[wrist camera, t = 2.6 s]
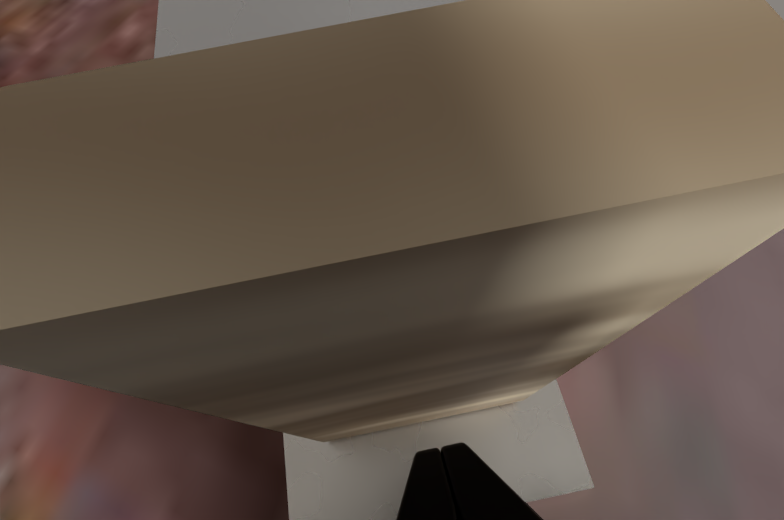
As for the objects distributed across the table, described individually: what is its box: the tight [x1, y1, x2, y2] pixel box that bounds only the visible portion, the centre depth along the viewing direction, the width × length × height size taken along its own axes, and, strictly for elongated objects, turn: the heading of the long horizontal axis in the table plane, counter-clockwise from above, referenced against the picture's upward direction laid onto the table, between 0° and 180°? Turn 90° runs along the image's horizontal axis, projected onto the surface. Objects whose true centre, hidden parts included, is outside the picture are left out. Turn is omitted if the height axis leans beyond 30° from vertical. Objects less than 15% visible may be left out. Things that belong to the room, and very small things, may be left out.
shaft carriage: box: [0, 0, 784, 442], centre depth 11 cm, size 8×7×13 cm
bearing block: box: [154, 0, 594, 520], centre depth 13 cm, size 15×10×10 cm
